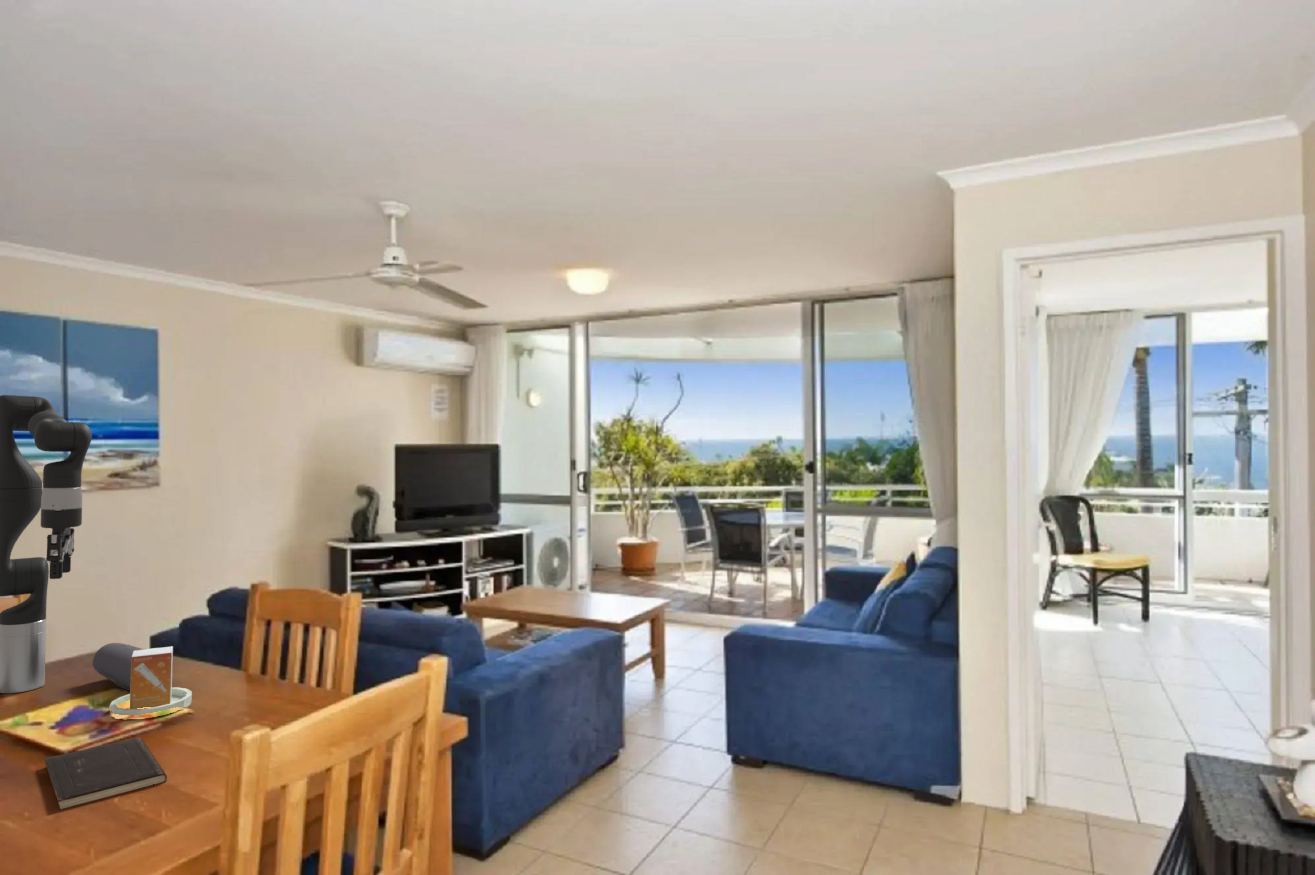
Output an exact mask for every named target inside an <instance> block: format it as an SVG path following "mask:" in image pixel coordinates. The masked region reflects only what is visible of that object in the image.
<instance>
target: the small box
mask: <svg viewBox="0 0 1315 875" xmlns="http://www.w3.org/2000/svg"><path fill="white" fill-rule="evenodd" d="M173 653H174V646H172V645H171V646H163V647H152V648H147V649H146V648H145V649H143V650H135V651H133V655H132V659H131V685H130V690H129V694H130V709H137V708H143V707H157V706H162V705H166V704H170V703H171V694H172V687H173V658H174V657H173V655H174V654H173Z"/></svg>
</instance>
